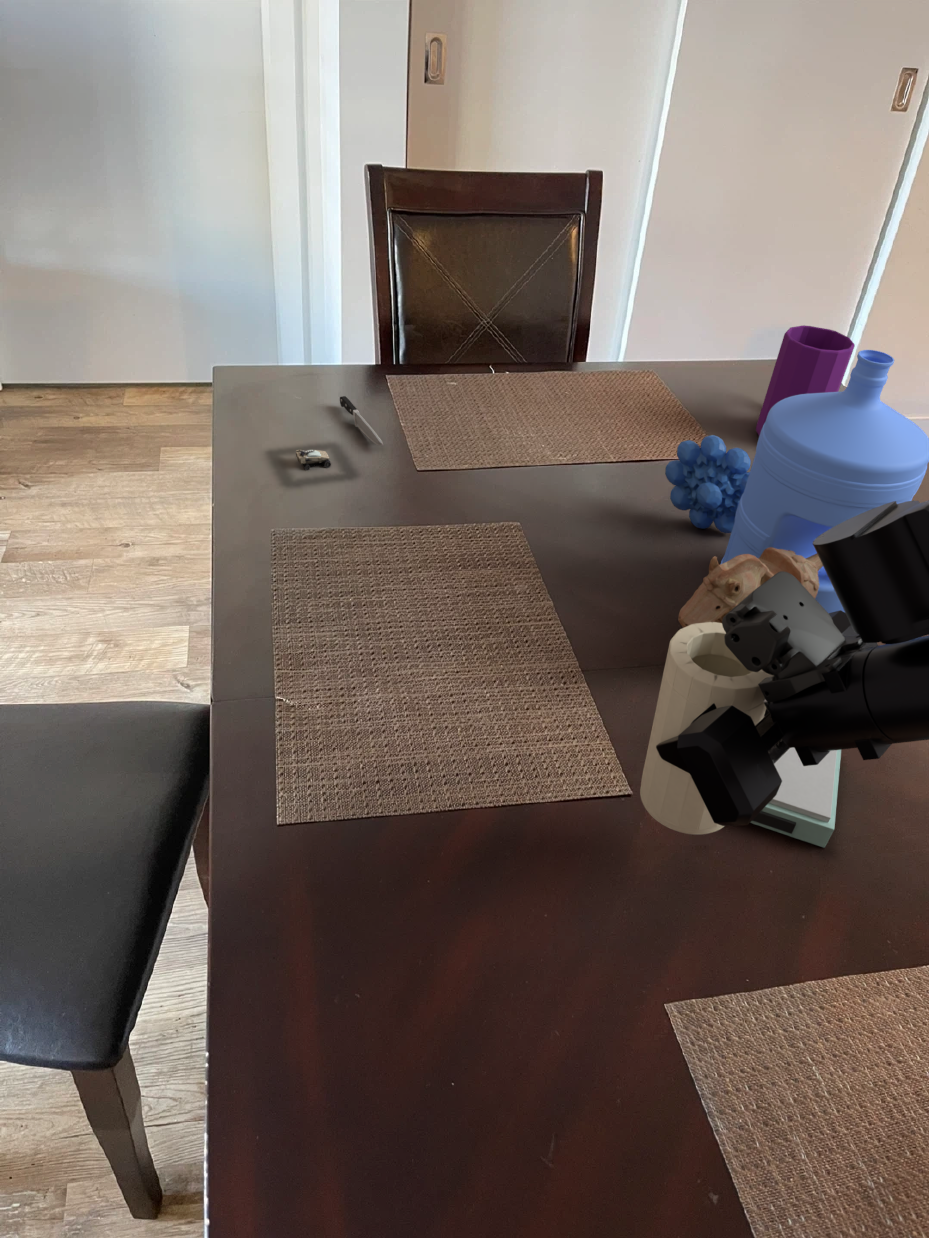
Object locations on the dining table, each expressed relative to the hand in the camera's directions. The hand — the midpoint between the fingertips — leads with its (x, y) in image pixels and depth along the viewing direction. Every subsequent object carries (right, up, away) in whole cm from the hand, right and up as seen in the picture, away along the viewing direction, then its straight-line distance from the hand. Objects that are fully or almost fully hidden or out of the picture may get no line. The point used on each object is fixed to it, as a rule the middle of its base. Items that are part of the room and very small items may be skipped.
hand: (689, 725), depth 65 cm
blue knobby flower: (+12, +18, +45) cm, 50 cm away
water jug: (+19, +10, +35) cm, 41 cm away
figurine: (+10, +3, +26) cm, 28 cm away
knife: (-30, +33, +58) cm, 73 cm away
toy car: (-35, +27, +50) cm, 67 cm away
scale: (+10, -7, +13) cm, 18 cm away
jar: (+1, -6, +3) cm, 7 cm away
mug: (+31, +35, +68) cm, 83 cm away
